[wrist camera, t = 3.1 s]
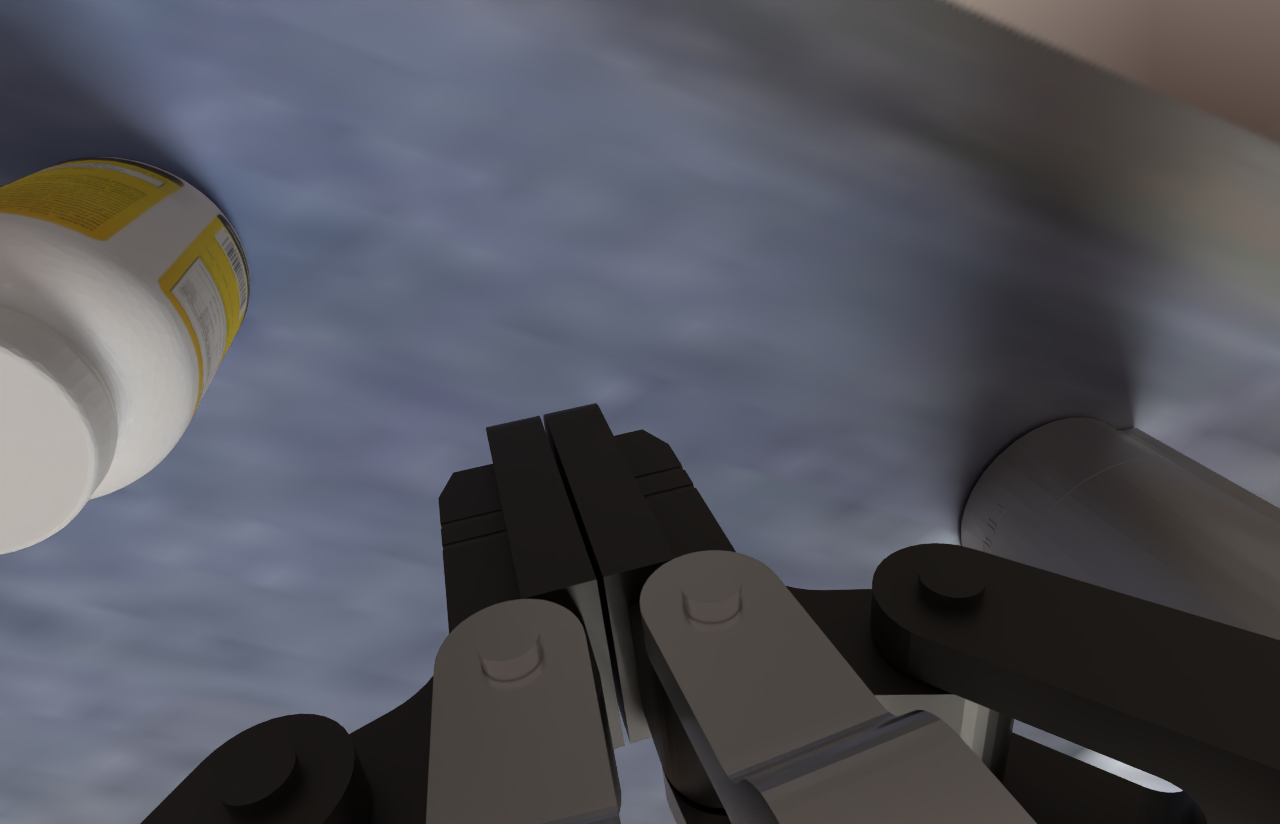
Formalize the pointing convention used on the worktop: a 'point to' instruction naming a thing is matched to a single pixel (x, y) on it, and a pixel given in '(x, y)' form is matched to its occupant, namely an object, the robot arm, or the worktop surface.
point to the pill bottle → (104, 331)
